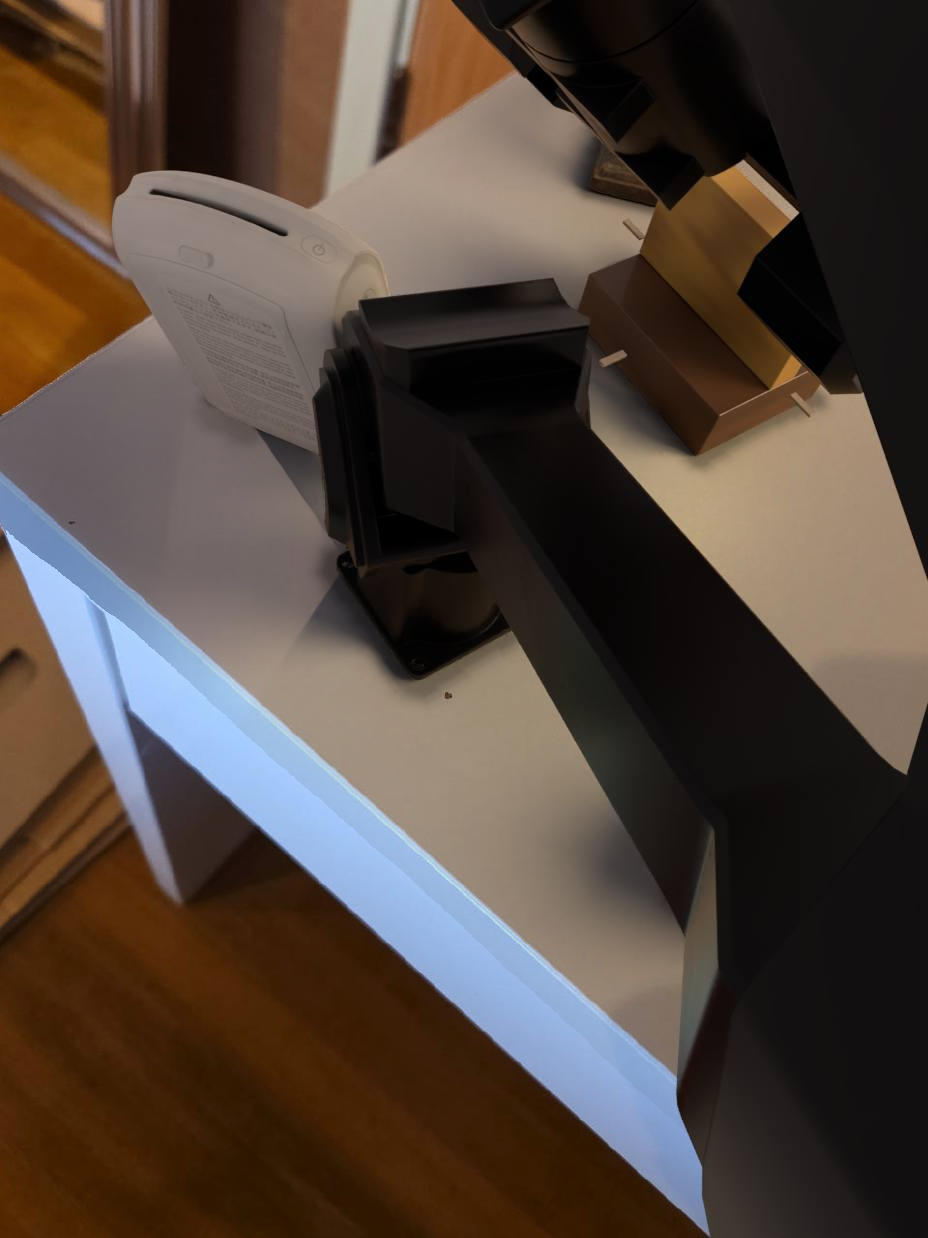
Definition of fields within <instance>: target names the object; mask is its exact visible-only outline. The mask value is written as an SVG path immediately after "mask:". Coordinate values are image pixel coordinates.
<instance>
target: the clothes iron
mask: <svg viewBox="0 0 928 1238" xmlns="http://www.w3.org/2000/svg"><path fill="white" fill-rule="evenodd" d="M589 188H590V189H591V190H593V191H594V192H597V193H601V194H605V195H608V196H613V197H616V198H620V199H625V200H629V201H631V202H636V203H637V202H638V203H641V204H646V205H650V206H653V207H656V204H657V202H658V199H657V198H656V197H655V196H654V195H653V194H652V193H651V192H650V191H649V190H648V189H647V188H646V187H645V186H644V185H643V184H642V183H641V182H640V181H639V180H638V179H637V178H636V176H635V175H634V174H633V173H632V172H631V171H630V170H629V169H628V168H627V167H626V166H625V165H624V164H623V163H622V162H621V161H620V160H619V159H618V158H617V157H616V156H615V155H614V154H613V153H612V152H611V151H610V150H609V149H608V148H607V147H606V146H605V145H604V144H603V143H602V142H601V143H600V147H599V150H598V152H597V155H596V158H595V162H594V164H593V169H592V173H591V176H590V180H589Z"/></svg>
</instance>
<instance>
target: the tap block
mask: <svg viewBox="0 0 928 1238" xmlns="http://www.w3.org/2000/svg"><path fill="white" fill-rule="evenodd" d="M622 224H623V225H624V227H626V228H627V229H628V231H629V232H630V233H631V234H632V235H633V236H634V237H635V238H636V239H637V240H638V241H641V240H642V241H643V240H644V238H645V235H646V234H644V233H643V232H642V231H641V230H640V229H639V227H637V225H636V224H635V223H633V221H632V220H630V218H626V219H624V220H623V221H622ZM576 311H577V312H579V313H581V314H583V315H585V316H587V317H589V318H591V323H590V328H589V334H588V336H590V337H591V338H592V339H593V340H594V342H595V343H596V344H597V345H598V346H599V347H600V348H601V350H602V351H603V352H604V353H605V354H606V355H607V356H605V357H603V358H601V359H598V364H599V365H600V366H601V367H602V368H606V367H608V366H609V365H613V364H615V366H616V367H617V368H618V369H619V370H620V371H621V372H622V373H623V374H624V376H625V377H626V378H627V380H629V381H630V382H631V384H632V385H633V386H634V387H635V388H636V390H638V391H639V392H640V394H641V395H642V396H643V397H644V398H645V399H646V401H647V402H648V403H649V404H650V405H651V406H652V407H653V408H654V409H655V411H656V412H657V413H658V414H659V415H660V416H661V417H662V418H663V420H664V421H665V422H666V423H667V424H668V425H669V426H670V427H671V429H672V430H673V431H674V432H675V433H676V434H677V436H679V437H680V439H681V440H682V441H683V442H684V443H685V444H686V445H687V447H688V448H689V449H690V450H691V451H692V453H694V454H695V456H697V457H698V456H700V455H702V454H704V453H706V452H708V451H710V450H712V449H714V448H716V447H717V446H719V445H722V444H723V443H727V442H728V441H730V440H732V439H733V438H736V437H737V436H739V435H741V434H744V433H745V432H747V431H749V430H751V429H752V428H755V427H756V426H758V425H761V424H762V423H765V422H766V421H768V420H770V419H772V418H774V417H776V416H778V415H780V414H782V413H784V412H786V411H788V410H790V409H792V408H794V407H798V408H799V409H800V410H801V411H802V412H803V414H804V415H805V416H806V417H807V418H812V417H813V416H815V415H816V411H814V410H813V408H812V407H810V406H809V405H808V403H807V402H806V401H807V400H809V399H811V398H813V397H814V395H815V394H816V392H817V390H818V389H819V387H820V386H821V384H820V383H819V382H818V381H817V380H816V379H815V378H814V377H813V376H812V375H811V374H810V373H809V372H808V371H807V370H806V369H805V368H804V367H803V366H802V365H801V367H800V369H799V370H798V372H797V373H796V375H795V377H794V378H793V379H791V380H789V381H787V382H785V383H783V384H781V385H779V386H777V387H775V388H773V389H771V390H770V389H769V388H768V387H767V386H766V385H765V384H764V383H763V382H762V381H761V380H760V379H759V378H758V377H757V376H756V375H755V374H754V373H753V372H752V370H751V369H750V368H749V367H748V366H747V365H746V364H745V363H744V362H743V361H742V360H741V359H740V358H739V357H738V356H737V355H736V354H735V353H734V352H733V350H732V349H731V348H730V347H729V346H728V345H727V344H726V343H725V342H724V341H723V340H722V339H721V338H720V337H719V336H718V335H717V334H716V333H715V332H714V331H713V329H712V328H711V327H710V326H709V325H708V324H707V323H706V322H705V321H704V320H703V319H702V318H701V317H700V316H699V315H698V314H697V313H696V312H695V311H694V309H693V308H692V307H691V306H690V305H689V304H688V303H687V302H686V301H685V300H684V299H683V298H682V297H681V296H680V295H679V294H678V293H677V292H676V291H675V290H674V288H673V287H672V286H671V285H670V284H669V283H668V282H667V281H666V280H665V279H664V278H663V277H662V276H661V275H660V274H659V273H658V272H657V271H656V270H655V268H654V267H653V266H652V265H651V264H650V263H649V262H648V261H647V260H646V259H645V258H644V257H643V256H642V255H641V254H640V253H637V254H635V255H632V256H630V257H628V258H625V259H623V260H620V261H617V262H615V263H612V264H610V265H607V266H605V267H602V268H600V269H598V270H597V269H596V270H595V271H592V272H590V273H589V274H588V276H587V279H586V282H585V285H584V288H583V292H582V294H581V298H580V302H579V304H578V307H577V310H576Z"/></svg>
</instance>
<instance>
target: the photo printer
mask: <svg viewBox="0 0 928 1238" xmlns="http://www.w3.org/2000/svg"><path fill="white" fill-rule="evenodd" d="M111 234H112V235H111V236H112V241H113V246H114V250H115V254H116V255H117V258H118V259H119V261H120V263H121V265H122V267H123V269H124V270H125V271H126V274H127V275H128V276H129V278H130V280H131V281H132V283H133V285H134V286H135V288H136V289H137V291H138V293H139V294H140V296H141V298H142V299H143V301H144V302H145V304H146V306H147V307H148V309H149V311H150V312H151V314H152V315H153V317H154V319H155V321H156V322H157V324H158V326H159V327H160V328H161V330H162V332H163V334H164V335H165V337H166V338H167V341H168V342H169V343H170V345H171V347H172V348H173V350H174V352H175V353H176V355H177V357H178V358H179V360H180V361H181V363H182V365H183V366H184V368H185V370H186V372H187V374H188V375H189V377H190V378H191V380H192V382H193V384H194V385H195V386H196V387H197V389H198V391H199V393H200V394H201V395H202V397H203V398H204V399H205V401H207V402H208V403H209V404H211V406H213V407H214V408H216V409H217V410H219V411H220V412H222V413H224V415H227V416H229V417H230V418H233V419H235V420H236V421H237V420H238V421H239V422H241V423H243V424H246V425H248V426H250V427H252V428H254V429H257V430H260V431H262V432H264V433H266V434H269V435H270V436H271V435H272V436H273V437H276V438H279V439H281V440H283V441H286V442H288V443H290V444H292V445H294V446H297V447H300V448H303V449H305V450H307V451H309V452H312V453H314V454H318V455H319V449H318V442H317V435H316V427H315V420H314V413H313V405H312V397H313V396H314V395H315V393H316V392H317V390H318V389H319V388H320V379H319V368H322V367H323V357H324V352H325V350H327V349H334V348H342V347H347V346H350V344H349V343H348V342H347V340H346V338H345V336H344V332H343V327H342V318H343V316H344V315H345V314H346V312H347V311H351V310H359V307H358V300H362V299H370V298H379V297H388V296H392V294H391V290H390V285H389V281H388V279H387V275H386V270H385V266H384V264H383V261H382V259H381V257H380V255H379V254H378V252H377V251H375V249H373V248H372V247H370V246H369V245H368V244H367V243H366V242H364V240H362V239H361V238H359V237H358V236H356V235H355V234H354V233H352V232H351V231H349V230H347V229H346V228H344V227H342V226H341V225H339V224H338V223H336V222H334V221H332V220H330V219H328V218H326V217H324V216H322V215H321V214H318V213H317V212H314V211H312V210H310V209H308V208H306V207H304V206H302V205H299V204H298V203H296V202H292V201H290V200H287V199H286V198H283V197H281V196H279V195H276V194H273V193H270V192H267V191H266V190H265V191H264V190H263V189H259V188H256V187H254V186H251V185H248V184H245V183H240V182H237V181H234V180H230V179H226V178H223V177H219V176H214V175H210V174H205V173H199V172H192V171H185V170H184V171H183V170H152V171H146V172H141V173H137V174H134V175H133V176H132V179H131V181H130V184H129V185H128V187H127V188H126V190H125V191H124V192H123V193H121V194H119V195H118V196H117V197H116V199H115V201H114V204H113V209H112V218H111Z"/></svg>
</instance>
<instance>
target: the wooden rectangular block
mask: <svg viewBox="0 0 928 1238" xmlns="http://www.w3.org/2000/svg"><path fill="white" fill-rule="evenodd" d="M654 207H655V208H654V210H653V213H652V215H651V218H650V221H649V224H648V227H647V230H646V232H645V234H644V235H645V238H644V239H642V244H641V247H640V249H639V251H638V252H639V254H641V255H642V256H643V257H644V258H645V259H646V260H647V261H648V262H649V263H650V264H651V265H652V266H653V267H654V268H655V270H656V271H657V272H658V273H659V274H660V275H661V276H662V277H663V278H664V279H665V280H666V281H667V282H668V283H669V284H670V285H671V286H672V287H673V288H674V290H675V291H676V292H677V293H678V294H679V295H680V296H681V297H682V298H683V299H684V300H685V301H686V302H687V303H688V304H689V305H690V306H691V307H692V308H693V309H694V311H695V312H696V313H697V314H698V315H699V316H700V317H701V318H702V319H703V320H704V321H705V322H706V323H707V324H708V325H709V326H710V327H711V328H712V329H713V331H714V332H715V333H716V334H717V335H718V336H719V337H720V338H721V339H722V340H723V341H724V342H725V343H726V344H727V345H728V346H729V347H730V348H731V349H732V350H733V352H734V353H735V354H736V355H737V356H738V357H739V358H740V359H741V360H742V361H743V362H744V363H745V364H746V365H747V366H748V367H749V368H750V369H751V370H752V372H753V373H754V374H755V375H756V376H757V377H758V378H759V379H760V380H761V381H762V382H763V383H764V384H765V385H766V386H767V387H768V388H769V389H770V390H771V389H773V388H775V387H777V386H779V385H781V384H783V383H785V382H787V381H789V380H791V379H793V378H794V377H795V375H796V373H797V372H798V370H799V369H800V367H801V364H800V363H799V362H798V361H797V360H796V359H795V358H794V357H793V355H792V354H791V353H790V352H789V351H788V350H787V349H786V348H785V347H784V346H783V345H782V344H781V343H780V342H779V341H778V340H777V339H776V338H775V337H774V336H773V335H772V334H771V333H770V332H769V331H768V330H767V328H766V327H765V326H764V325H763V324H762V323H761V322H760V321H759V320H758V319H757V317H756V316H755V315H754V314H753V313H752V312H751V311H750V310H749V309H748V308H747V306H746V305H745V304H744V303H743V301H742V300H741V299H740V298H739V296H738V295H737V292H738V290H739V288H740V286H741V284H742V282H743V280H744V278H745V276H746V274H747V272H748V270H749V268H750V266H751V264H752V262H753V260H754V258H755V256H756V255H757V254H758V253H759V252H760V251H761V250H762V249H763V248H764V247H765V246H766V245H767V244H768V243H769V242H770V241H771V240H772V239H773V238H774V237H775V236H776V235H777V234H778V233H779V232H780V231H781V230H782V229H783V228H784V227H785V226H786V225H787V224H788V223H789V222H790V221H791V220H792V219H791V218H790V217H788V216H787V215H786V214H785V212H783V211H782V210H781V209H780V207H778V206H777V205H776V204H775V203H774V202H773V201H772V200H771V199H770V198H769V197H767V195H765V194H764V193H763V192H762V191H761V190H760V189H759V188H758V187H757V186H756V185H755V184H754V183H753V182H752V181H751V180H750V179H749V178H747V177H746V176H745V175H744V174H743V173H742V171H740V170H739V169H738V168H737V167H736V165H735V166H733V167H732V168H730V169H728V170H726V171H724V172H722V173H720V174H718V175H715V176H713V177H706V176H703V177H702V178H701V179H700V180H699V181H698V182H697V183H696V184H695V185H694V186H693V188H692V189H691V190H690V191H689V192H688V193H687V194H686V195H685V196H684V197H683V198H682V199H681V200H680V201H679V202H678V203H677V204H676V205H675V206H674V207H673V208H672V210H671V211H669V210H668V209H667V208H666V207H665V206H664V205H663V204H662V203H661V202H660V201H659V200H658V202H657V204H656V206H654Z"/></svg>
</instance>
